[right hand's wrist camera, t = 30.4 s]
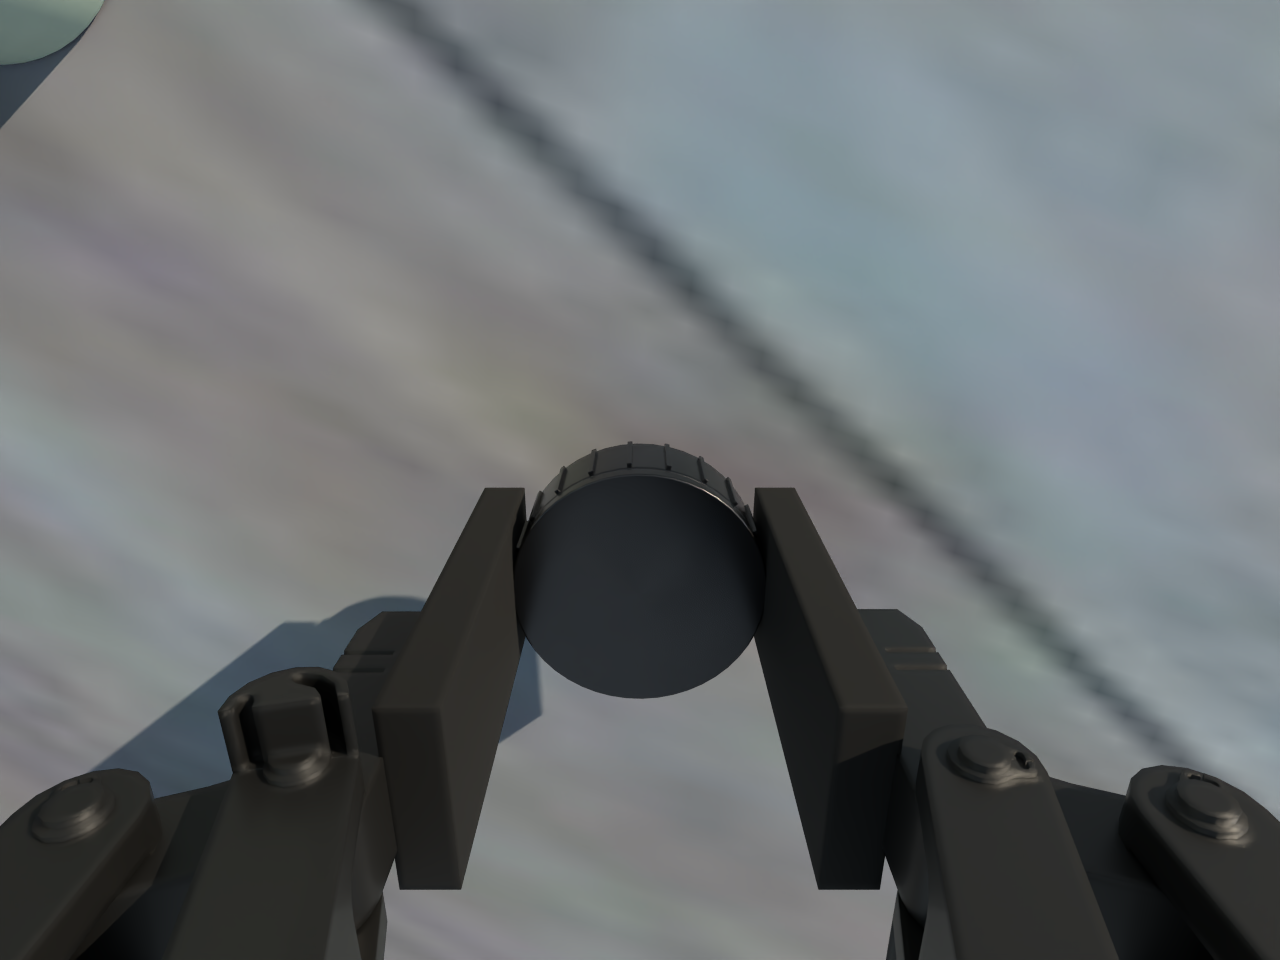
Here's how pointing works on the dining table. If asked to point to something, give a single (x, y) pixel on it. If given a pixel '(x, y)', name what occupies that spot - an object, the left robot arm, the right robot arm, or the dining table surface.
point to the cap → (639, 572)
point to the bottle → (41, 26)
